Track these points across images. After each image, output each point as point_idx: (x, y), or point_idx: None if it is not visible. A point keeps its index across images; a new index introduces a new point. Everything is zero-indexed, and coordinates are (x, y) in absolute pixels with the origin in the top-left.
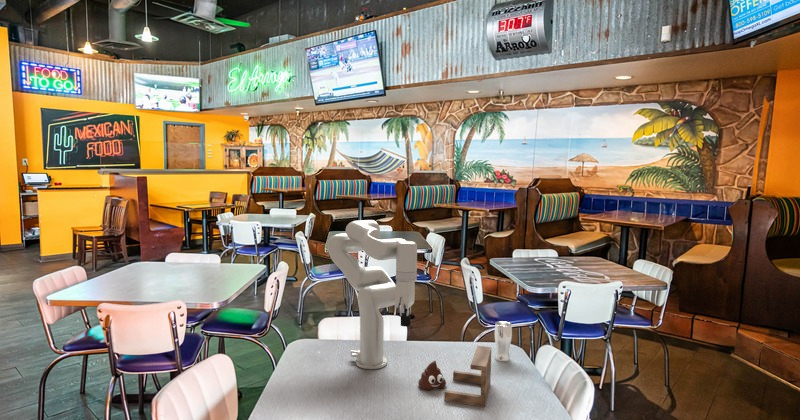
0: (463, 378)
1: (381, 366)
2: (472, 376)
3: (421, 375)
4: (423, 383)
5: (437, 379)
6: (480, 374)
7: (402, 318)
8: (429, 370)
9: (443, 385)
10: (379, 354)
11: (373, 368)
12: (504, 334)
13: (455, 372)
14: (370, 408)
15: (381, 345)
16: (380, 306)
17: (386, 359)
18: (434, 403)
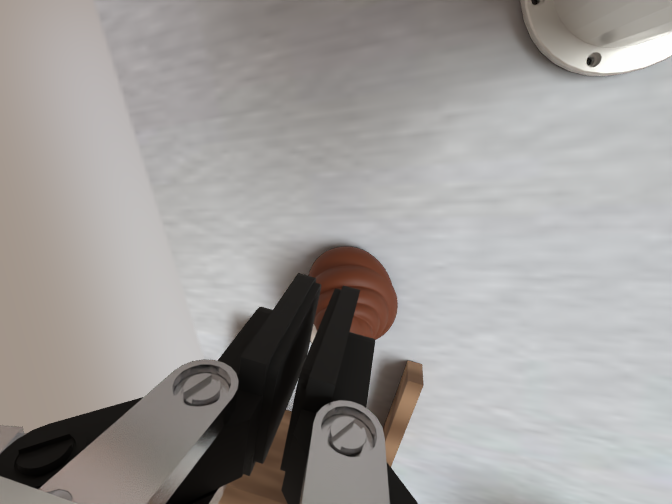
0: (397, 395)
1: (542, 50)
2: (389, 426)
3: (337, 270)
4: (315, 269)
5: (314, 325)
6: (393, 453)
7: (225, 351)
8: (319, 313)
9: None
10: (598, 14)
11: (521, 1)
12: None
13: (405, 387)
14: (148, 74)
15: (654, 9)
16: None
17: (639, 66)
18: (235, 288)
